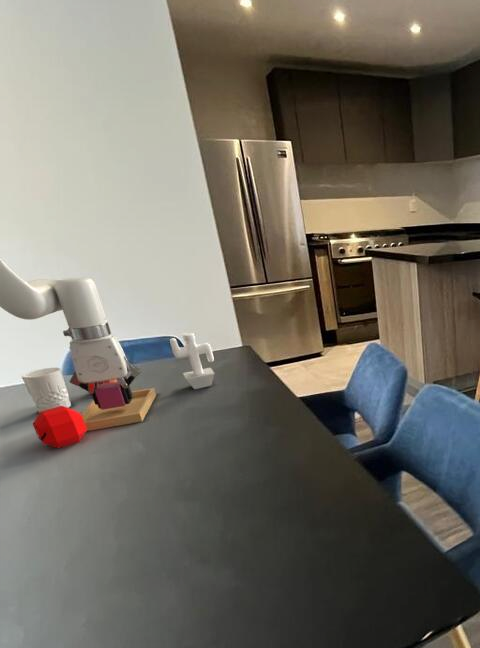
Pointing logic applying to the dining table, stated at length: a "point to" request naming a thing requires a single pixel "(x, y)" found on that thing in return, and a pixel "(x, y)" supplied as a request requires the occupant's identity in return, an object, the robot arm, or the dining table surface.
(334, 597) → the dining table surface
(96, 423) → the tray
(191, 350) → the figurine
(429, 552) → the dining table surface
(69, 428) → the red apple
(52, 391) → the white cup
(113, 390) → the pink block
